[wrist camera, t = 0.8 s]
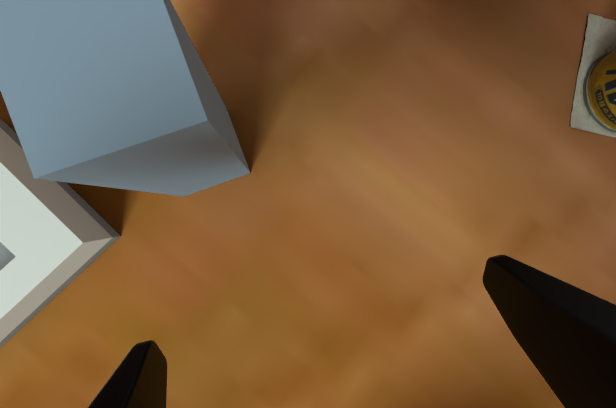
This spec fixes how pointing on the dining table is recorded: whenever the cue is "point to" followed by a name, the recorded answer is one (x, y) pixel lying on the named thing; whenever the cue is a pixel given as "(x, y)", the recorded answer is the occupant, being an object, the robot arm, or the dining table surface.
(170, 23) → the peg
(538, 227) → the dining table surface
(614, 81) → the condiment
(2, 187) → the white slotted board
